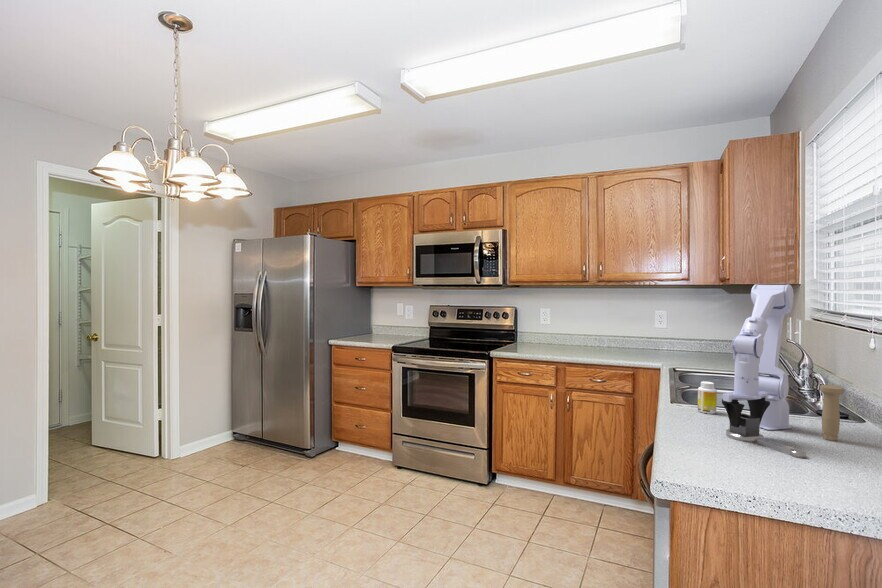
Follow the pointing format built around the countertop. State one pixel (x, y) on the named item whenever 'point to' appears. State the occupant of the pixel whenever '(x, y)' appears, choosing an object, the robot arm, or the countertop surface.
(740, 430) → the square metal tube
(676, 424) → the countertop surface
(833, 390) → the handle
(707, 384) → the supplement bottle
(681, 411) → the countertop surface
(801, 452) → the ratchet
